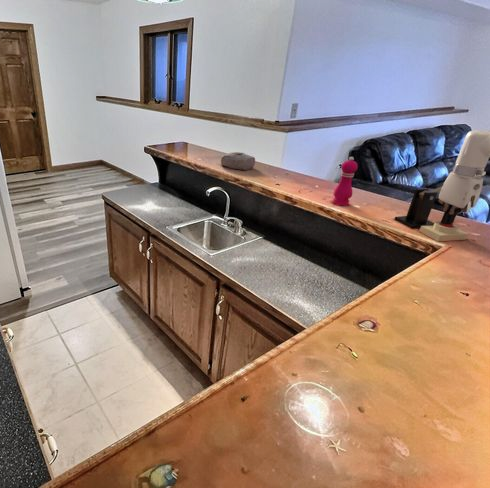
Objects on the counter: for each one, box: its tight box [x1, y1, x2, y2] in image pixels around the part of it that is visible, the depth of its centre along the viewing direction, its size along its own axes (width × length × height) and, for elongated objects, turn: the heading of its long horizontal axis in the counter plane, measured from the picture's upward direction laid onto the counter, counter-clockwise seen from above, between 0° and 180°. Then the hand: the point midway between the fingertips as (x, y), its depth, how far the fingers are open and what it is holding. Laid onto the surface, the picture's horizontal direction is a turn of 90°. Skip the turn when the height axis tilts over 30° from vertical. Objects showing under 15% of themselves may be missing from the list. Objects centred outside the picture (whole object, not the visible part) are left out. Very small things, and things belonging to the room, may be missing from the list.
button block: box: [418, 220, 469, 242], centre depth 121 cm, size 11×8×4 cm
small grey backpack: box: [219, 151, 256, 171], centre depth 204 cm, size 15×8×20 cm
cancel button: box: [440, 222, 454, 228], centre depth 120 cm, size 4×4×2 cm
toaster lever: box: [419, 185, 443, 200], centre depth 126 cm, size 14×5×2 cm, turn 99°
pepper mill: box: [332, 156, 359, 207], centre depth 146 cm, size 7×7×20 cm
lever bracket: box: [393, 188, 438, 230], centre depth 128 cm, size 10×9×13 cm
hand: (446, 223), depth 120 cm, fingers closed
